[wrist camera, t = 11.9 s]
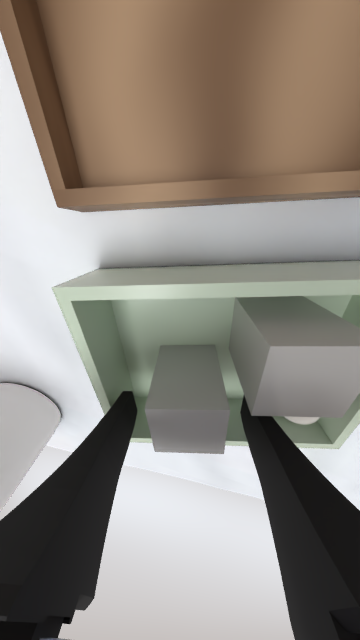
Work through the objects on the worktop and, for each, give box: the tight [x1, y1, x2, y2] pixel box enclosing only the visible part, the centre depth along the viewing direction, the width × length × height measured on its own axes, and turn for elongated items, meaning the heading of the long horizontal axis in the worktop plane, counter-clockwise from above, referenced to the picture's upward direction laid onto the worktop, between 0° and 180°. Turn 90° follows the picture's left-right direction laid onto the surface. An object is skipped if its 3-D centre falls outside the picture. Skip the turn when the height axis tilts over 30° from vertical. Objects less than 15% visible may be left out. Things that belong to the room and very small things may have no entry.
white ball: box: [284, 416, 320, 425], centre depth 12 cm, size 3×3×3 cm
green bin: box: [52, 260, 360, 449], centre depth 11 cm, size 16×12×4 cm
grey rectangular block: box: [229, 296, 360, 418], centre depth 9 cm, size 4×4×5 cm
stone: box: [145, 345, 230, 454], centre depth 11 cm, size 4×4×5 cm
